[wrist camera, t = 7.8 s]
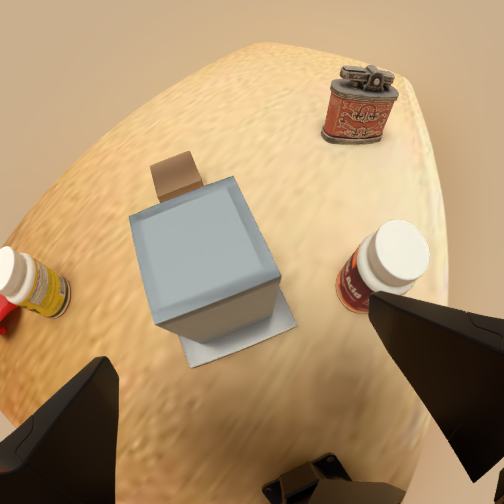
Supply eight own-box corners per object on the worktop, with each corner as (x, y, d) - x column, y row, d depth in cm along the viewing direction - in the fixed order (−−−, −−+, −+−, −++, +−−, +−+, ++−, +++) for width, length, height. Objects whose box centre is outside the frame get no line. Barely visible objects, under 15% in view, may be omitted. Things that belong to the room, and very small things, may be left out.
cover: (272, 316, 21) (281, 275, 12) (200, 344, 20) (154, 324, 11) (243, 251, 24) (233, 175, 14) (177, 276, 23) (128, 216, 14)
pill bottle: (331, 263, 23) (362, 213, 16) (380, 261, 23) (423, 214, 16) (337, 317, 22) (377, 289, 14) (388, 312, 21) (442, 282, 14)
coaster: (296, 326, 21) (297, 325, 21) (191, 368, 20) (190, 368, 20) (252, 233, 25) (252, 230, 24) (159, 270, 24) (157, 268, 23)
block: (208, 205, 26) (201, 179, 23) (170, 220, 26) (157, 197, 22) (197, 176, 28) (189, 150, 24) (161, 190, 27) (149, 166, 24)
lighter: (374, 126, 31) (395, 65, 21) (384, 144, 29) (411, 81, 20) (317, 127, 30) (329, 57, 21) (326, 146, 29) (342, 73, 20)
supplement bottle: (35, 304, 22) (-19, 279, 15) (53, 268, 24) (3, 233, 16) (59, 327, 21) (-1, 306, 14) (78, 287, 23) (23, 253, 15)
